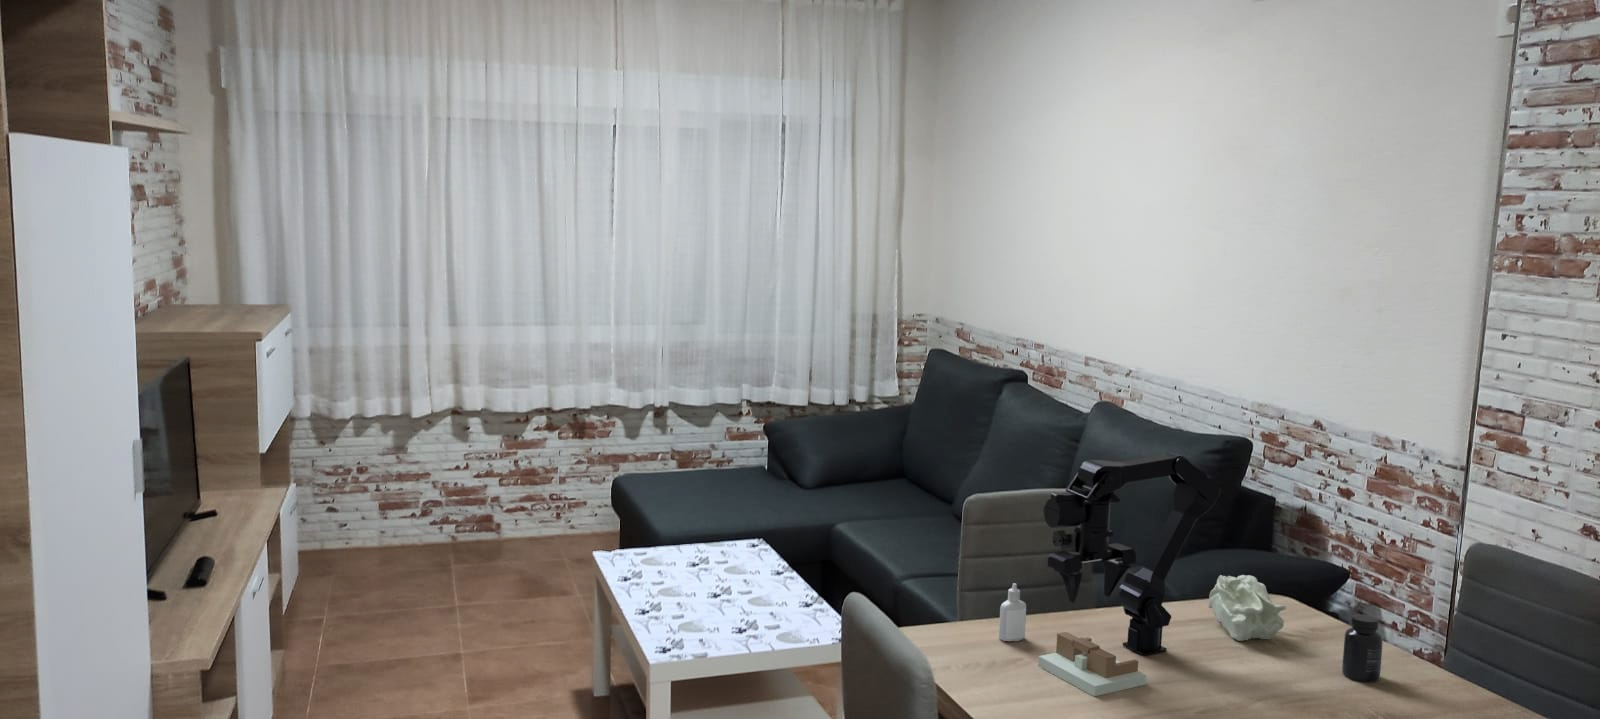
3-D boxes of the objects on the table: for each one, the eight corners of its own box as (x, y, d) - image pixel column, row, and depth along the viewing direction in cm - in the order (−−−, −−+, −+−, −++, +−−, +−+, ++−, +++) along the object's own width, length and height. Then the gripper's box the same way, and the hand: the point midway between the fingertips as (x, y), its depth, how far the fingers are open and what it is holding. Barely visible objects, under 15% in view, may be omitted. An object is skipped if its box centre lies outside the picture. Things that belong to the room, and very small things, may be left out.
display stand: (1088, 655, 236) (1089, 635, 236) (1145, 684, 222) (1147, 663, 222) (1038, 665, 230) (1039, 645, 230) (1094, 696, 216) (1095, 674, 216)
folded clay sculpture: (1263, 669, 249) (1301, 618, 242) (1209, 655, 247) (1246, 603, 239) (1235, 610, 265) (1270, 560, 257) (1184, 597, 262) (1218, 546, 255)
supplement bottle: (1377, 672, 231) (1382, 615, 230) (1381, 685, 225) (1387, 626, 223) (1339, 667, 234) (1344, 610, 232) (1343, 680, 227) (1348, 621, 226)
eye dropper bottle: (1026, 643, 242) (1029, 587, 241) (999, 642, 242) (1002, 586, 241) (1023, 635, 247) (1026, 581, 245) (996, 634, 247) (999, 580, 245)
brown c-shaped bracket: (1087, 646, 236) (1088, 625, 235) (1137, 671, 224) (1139, 649, 223) (1056, 652, 232) (1057, 631, 231) (1105, 678, 220) (1106, 656, 219)
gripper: (1101, 509, 244) (1097, 581, 246) (1031, 518, 235) (1027, 593, 237) (1140, 523, 234) (1135, 597, 236) (1068, 532, 225) (1064, 610, 227)
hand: (1089, 599), depth 234 cm, fingers open, 9 cm apart
